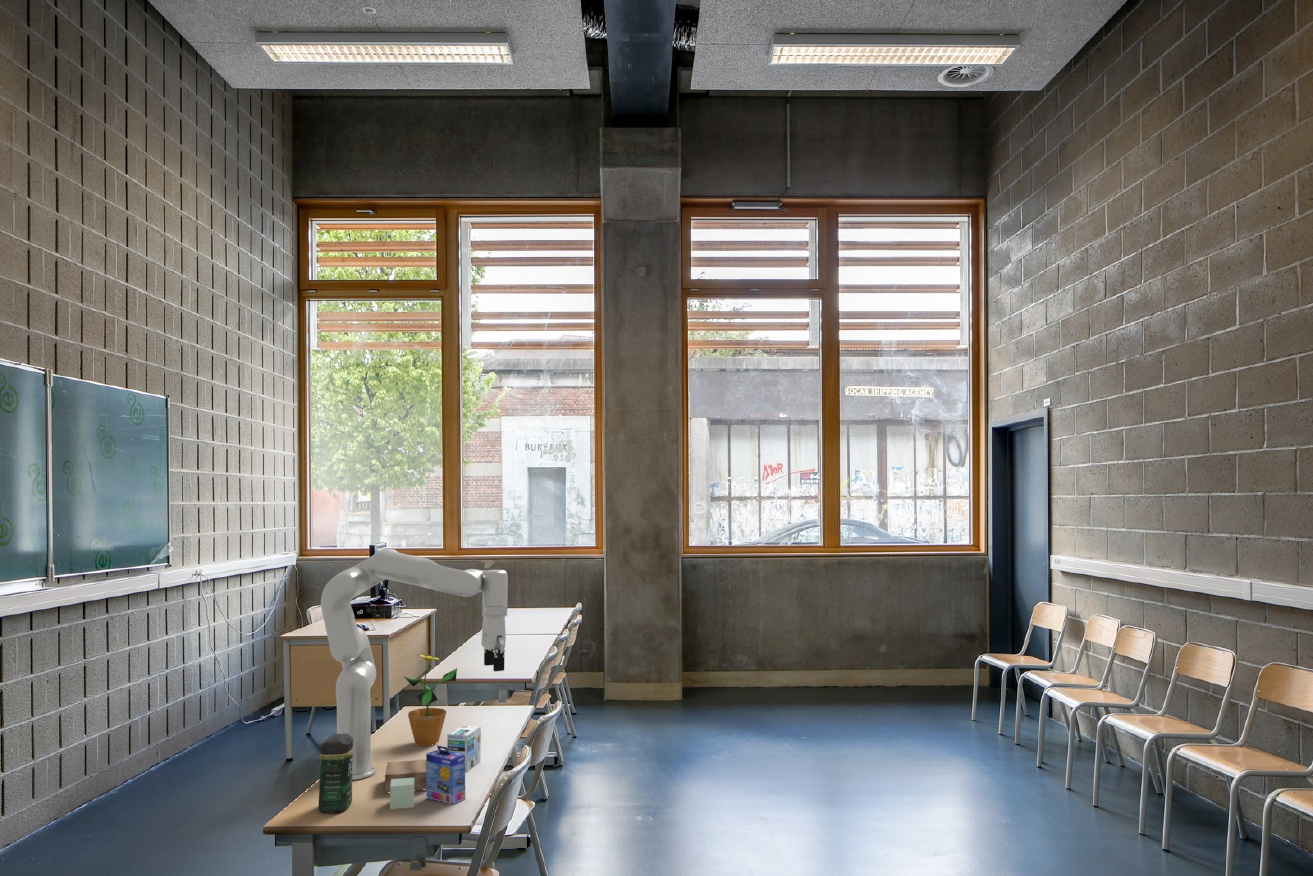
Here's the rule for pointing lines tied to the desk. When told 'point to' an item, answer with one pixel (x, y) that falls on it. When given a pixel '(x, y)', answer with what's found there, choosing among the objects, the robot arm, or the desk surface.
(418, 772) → the walnut block
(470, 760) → the light bulb box
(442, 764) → the ink cartridge box
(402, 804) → the sage block
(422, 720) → the potted plant
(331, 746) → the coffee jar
